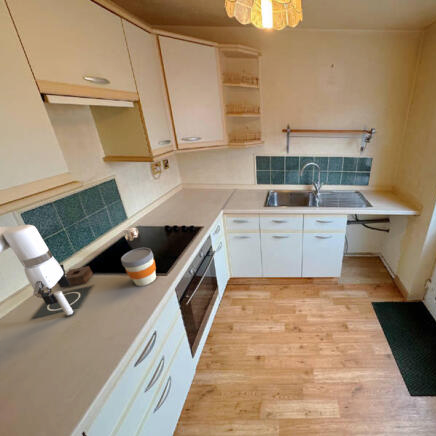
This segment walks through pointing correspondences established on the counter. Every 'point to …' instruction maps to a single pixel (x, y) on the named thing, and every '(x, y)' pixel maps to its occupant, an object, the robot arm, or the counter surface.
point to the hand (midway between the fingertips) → (59, 294)
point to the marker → (64, 303)
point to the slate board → (72, 298)
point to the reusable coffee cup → (140, 265)
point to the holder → (79, 275)
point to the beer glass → (133, 238)
